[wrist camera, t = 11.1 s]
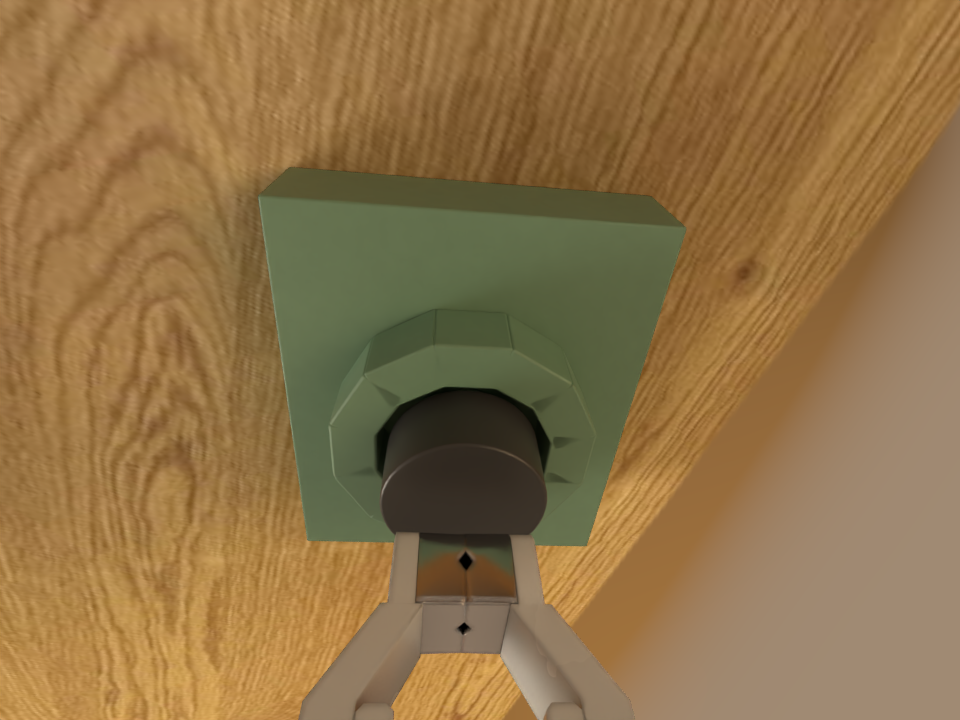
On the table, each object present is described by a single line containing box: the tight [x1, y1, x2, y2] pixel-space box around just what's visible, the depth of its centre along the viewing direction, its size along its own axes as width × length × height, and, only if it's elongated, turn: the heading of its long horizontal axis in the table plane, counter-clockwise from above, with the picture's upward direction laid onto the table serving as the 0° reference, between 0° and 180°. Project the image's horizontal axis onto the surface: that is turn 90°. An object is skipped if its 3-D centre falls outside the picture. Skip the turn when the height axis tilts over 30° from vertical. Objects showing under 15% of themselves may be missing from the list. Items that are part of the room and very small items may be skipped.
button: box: [379, 391, 547, 540], centre depth 13 cm, size 4×4×2 cm
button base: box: [258, 167, 686, 546], centre depth 16 cm, size 12×10×4 cm
